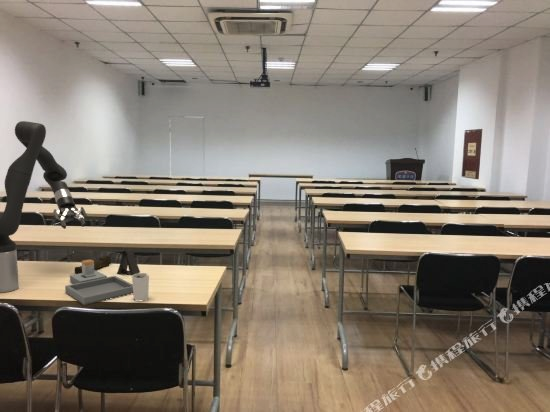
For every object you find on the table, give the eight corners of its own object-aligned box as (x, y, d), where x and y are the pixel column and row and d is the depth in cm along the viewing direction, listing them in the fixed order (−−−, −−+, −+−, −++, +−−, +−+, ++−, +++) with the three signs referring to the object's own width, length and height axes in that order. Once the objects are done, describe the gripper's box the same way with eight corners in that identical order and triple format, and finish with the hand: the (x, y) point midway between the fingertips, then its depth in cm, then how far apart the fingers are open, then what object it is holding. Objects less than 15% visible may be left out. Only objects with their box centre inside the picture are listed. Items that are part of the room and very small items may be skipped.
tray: (84, 305, 170) (83, 298, 170) (65, 292, 184) (65, 285, 184) (136, 292, 186) (136, 286, 185) (115, 282, 200) (115, 275, 199)
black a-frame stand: (139, 272, 216) (139, 248, 214) (133, 275, 210) (133, 251, 208) (123, 270, 218) (122, 247, 216) (116, 274, 212) (116, 250, 210)
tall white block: (86, 284, 196) (85, 262, 195) (82, 281, 199) (81, 260, 198) (94, 282, 199) (94, 261, 198) (91, 280, 202) (90, 259, 201)
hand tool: (81, 277, 207) (81, 265, 206) (74, 275, 209) (73, 264, 208) (115, 265, 228) (115, 255, 227) (108, 264, 230) (108, 254, 229)
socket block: (80, 287, 191) (80, 281, 190) (70, 281, 199) (69, 275, 199) (107, 282, 199) (106, 276, 199) (96, 276, 207) (95, 270, 207)
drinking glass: (129, 301, 176) (128, 277, 175) (137, 295, 183) (136, 272, 181) (144, 302, 175) (144, 278, 174) (152, 296, 182) (151, 273, 180)
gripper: (50, 196, 205) (60, 223, 199) (81, 194, 215) (91, 220, 209) (47, 206, 209) (56, 233, 203) (77, 203, 219) (87, 229, 213)
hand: (74, 226), depth 206 cm, fingers open, 8 cm apart
